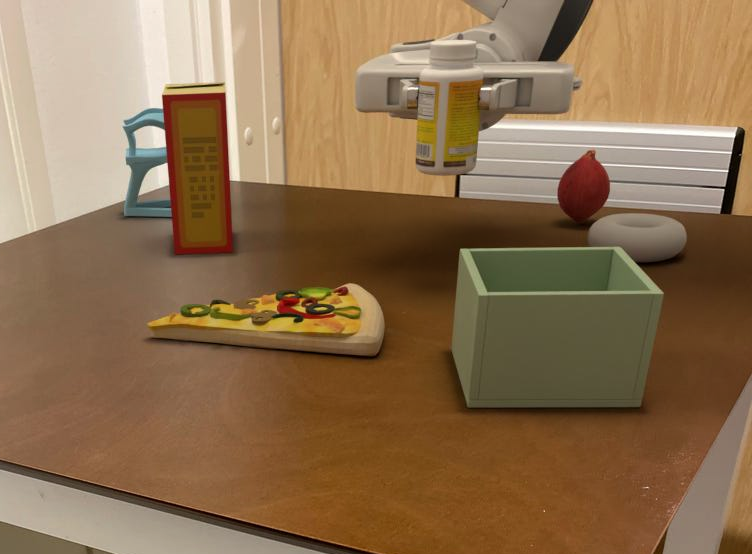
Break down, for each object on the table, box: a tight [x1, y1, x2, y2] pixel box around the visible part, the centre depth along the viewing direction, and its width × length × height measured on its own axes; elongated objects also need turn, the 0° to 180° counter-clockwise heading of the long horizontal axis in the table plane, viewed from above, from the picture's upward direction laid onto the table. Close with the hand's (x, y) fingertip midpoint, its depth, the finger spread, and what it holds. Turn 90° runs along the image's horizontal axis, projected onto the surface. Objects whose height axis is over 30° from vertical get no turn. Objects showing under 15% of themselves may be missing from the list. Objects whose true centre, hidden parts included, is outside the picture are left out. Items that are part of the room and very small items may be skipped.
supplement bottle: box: [415, 40, 483, 177], centre depth 87 cm, size 6×6×10 cm
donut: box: [587, 212, 688, 263], centre depth 103 cm, size 10×3×10 cm
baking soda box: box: [161, 81, 234, 256], centre depth 107 cm, size 10×6×16 cm
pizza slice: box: [146, 282, 386, 357], centre depth 85 cm, size 16×21×3 cm
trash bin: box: [451, 246, 665, 409], centre depth 73 cm, size 12×12×8 cm
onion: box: [556, 148, 611, 225], centre depth 113 cm, size 6×6×8 cm
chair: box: [122, 107, 172, 218], centre depth 122 cm, size 8×8×12 cm
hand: (447, 98), depth 85 cm, fingers closed on supplement bottle, 5 cm apart
